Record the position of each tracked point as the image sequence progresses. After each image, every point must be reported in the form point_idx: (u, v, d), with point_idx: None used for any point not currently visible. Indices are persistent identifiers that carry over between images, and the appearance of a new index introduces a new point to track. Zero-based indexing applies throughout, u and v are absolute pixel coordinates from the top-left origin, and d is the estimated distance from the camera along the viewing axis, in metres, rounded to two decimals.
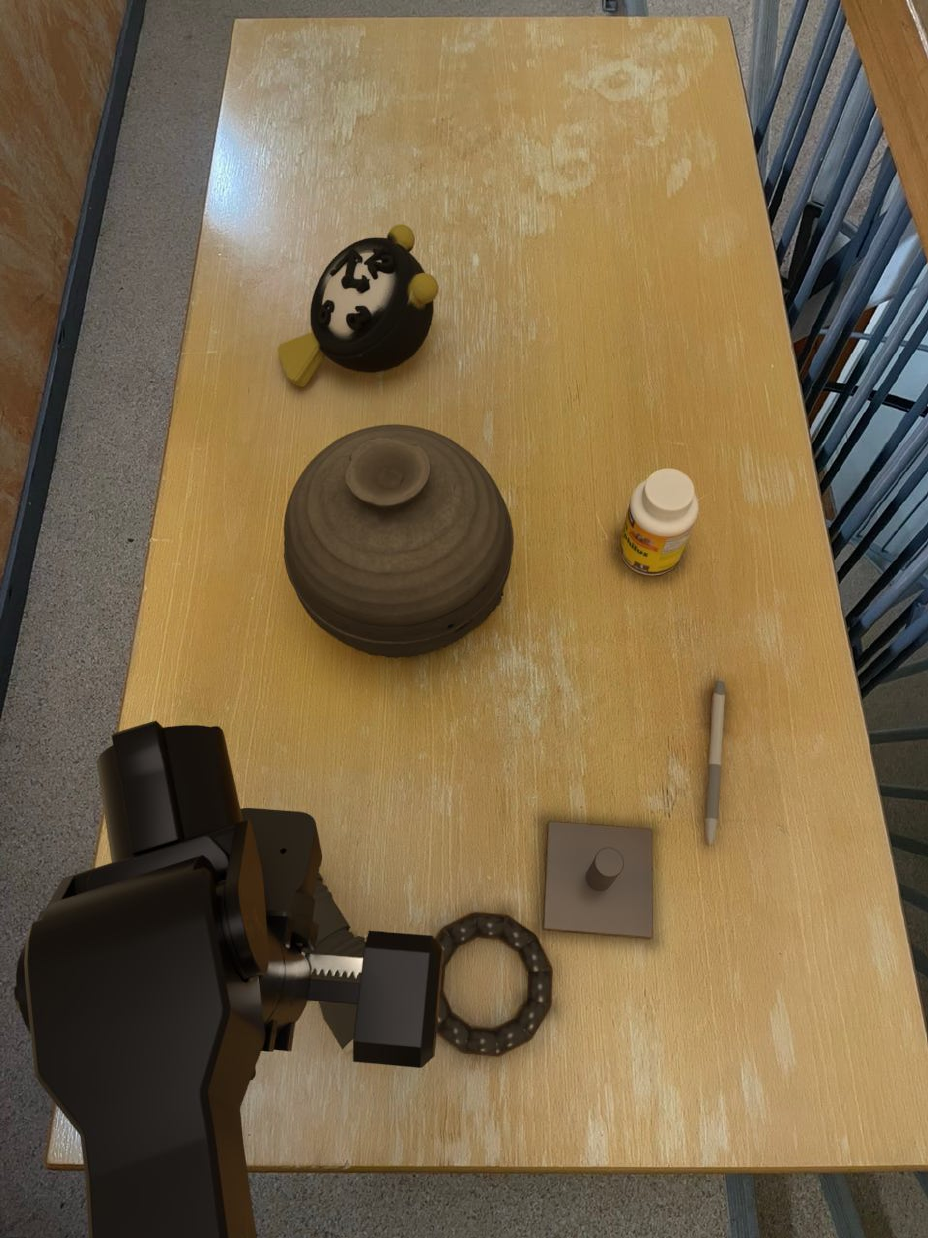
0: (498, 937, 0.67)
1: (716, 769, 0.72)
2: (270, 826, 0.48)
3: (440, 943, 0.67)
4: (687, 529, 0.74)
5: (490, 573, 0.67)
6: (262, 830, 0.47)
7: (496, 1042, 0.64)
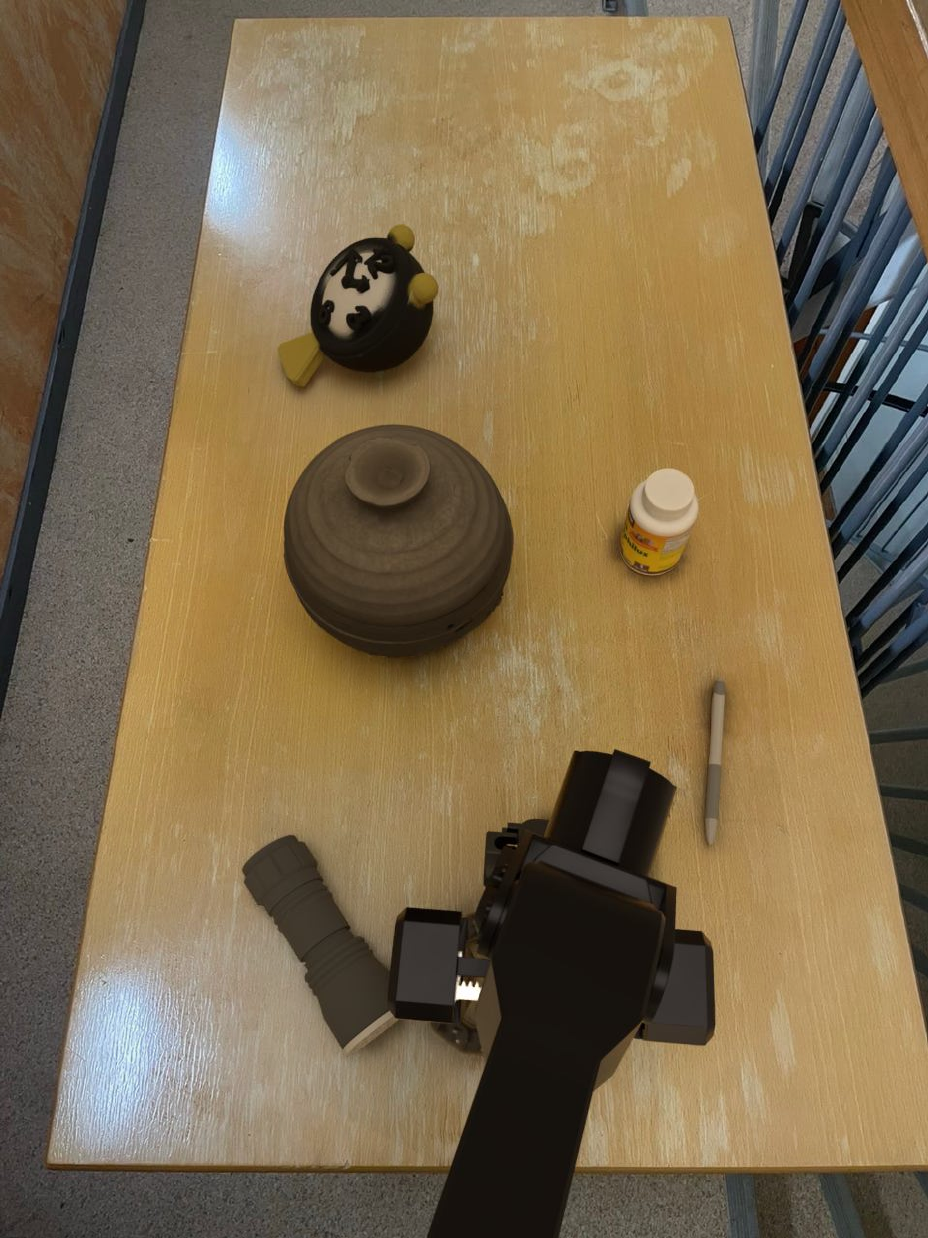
0: None
1: (716, 769, 0.72)
2: None
3: None
4: (687, 529, 0.74)
5: (489, 573, 0.67)
6: None
7: None
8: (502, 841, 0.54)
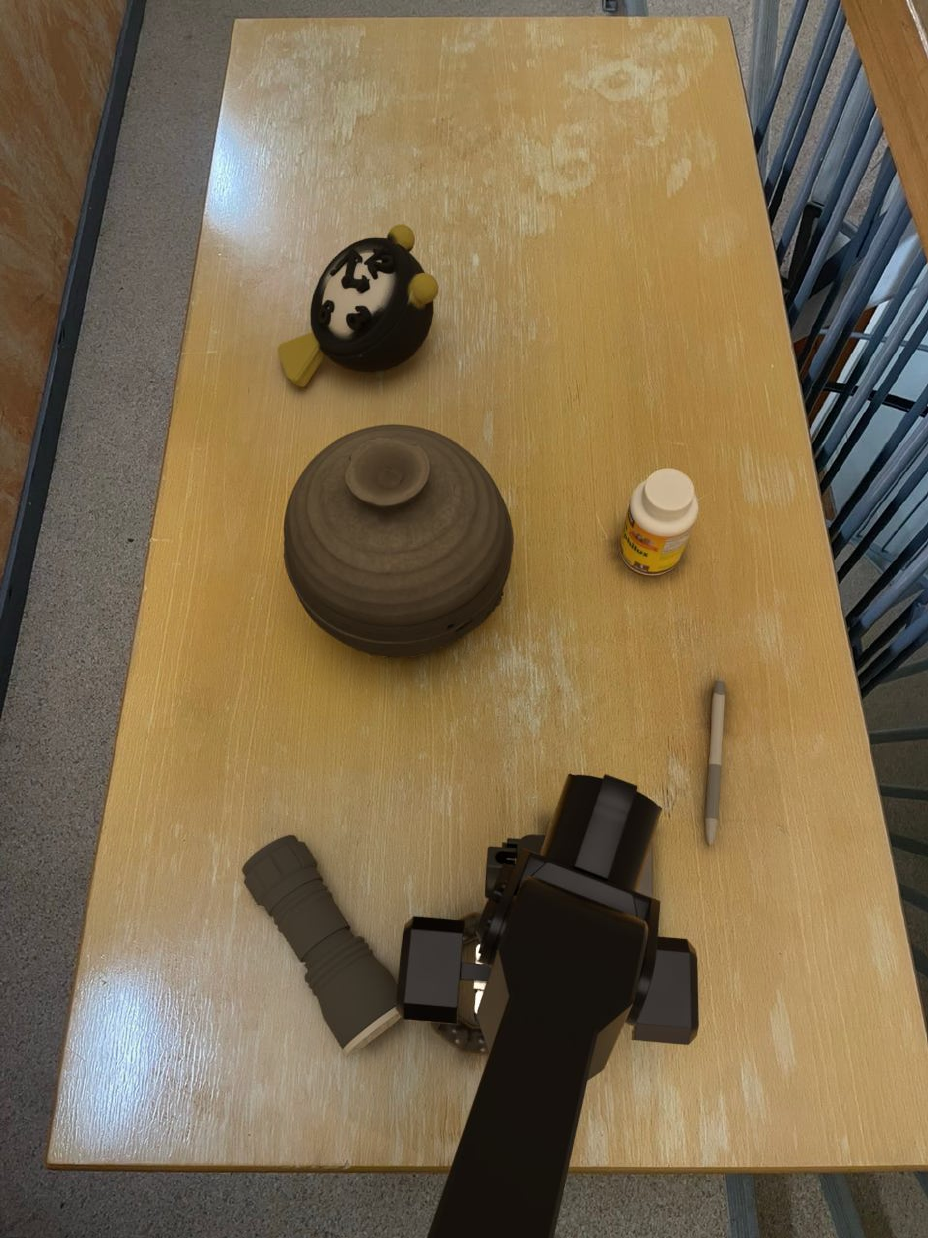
0: None
1: (716, 769, 0.72)
2: None
3: None
4: (687, 529, 0.74)
5: (489, 573, 0.67)
6: None
7: None
8: (502, 855, 0.58)
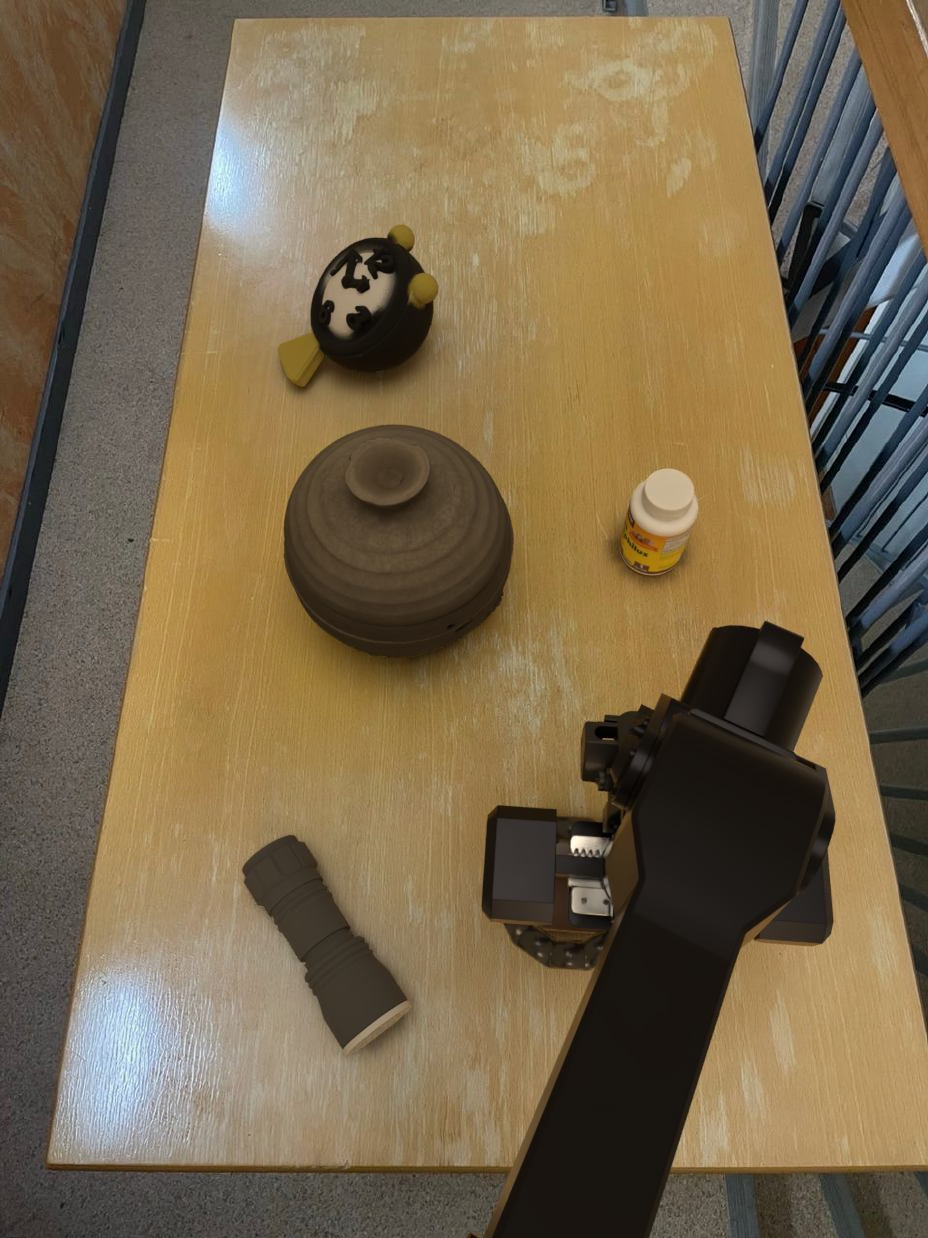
0: None
1: None
2: None
3: None
4: (687, 529, 0.74)
5: (489, 573, 0.67)
6: None
7: (585, 954, 0.57)
8: (602, 731, 0.50)
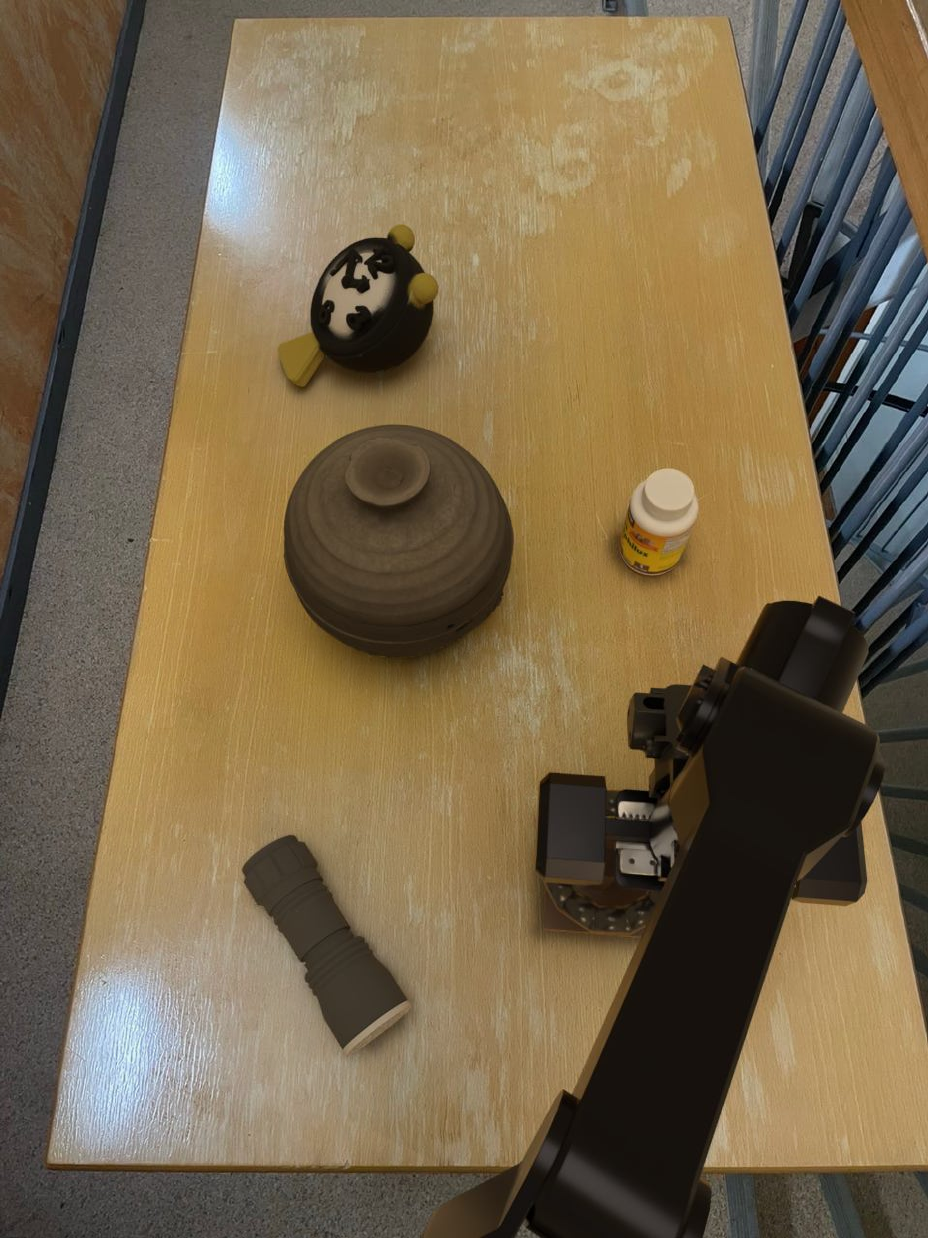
0: None
1: None
2: None
3: None
4: (687, 529, 0.74)
5: (489, 573, 0.67)
6: None
7: (626, 918, 0.60)
8: (649, 702, 0.54)
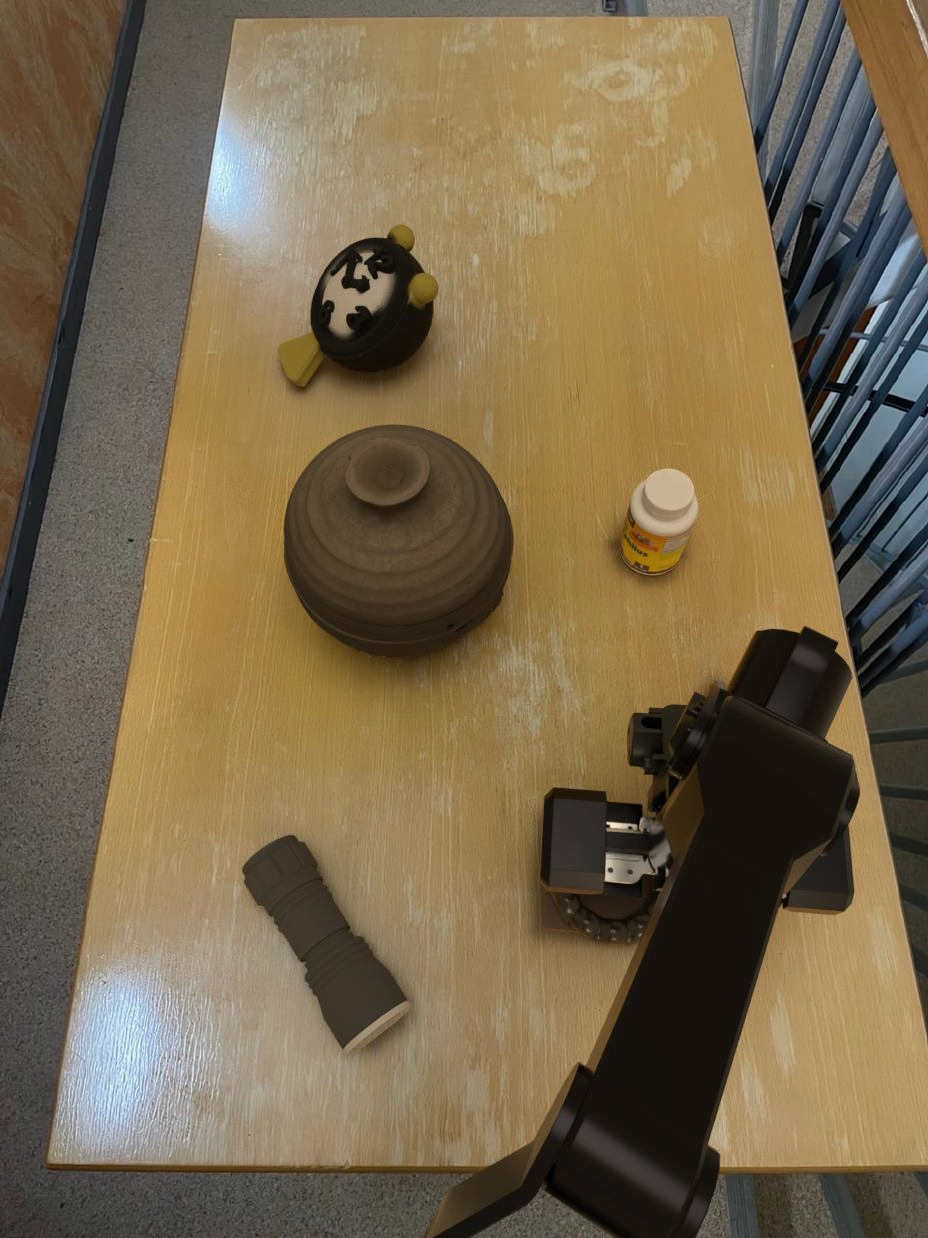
0: None
1: None
2: None
3: None
4: (687, 529, 0.74)
5: (489, 573, 0.67)
6: None
7: (628, 931, 0.66)
8: (647, 722, 0.57)
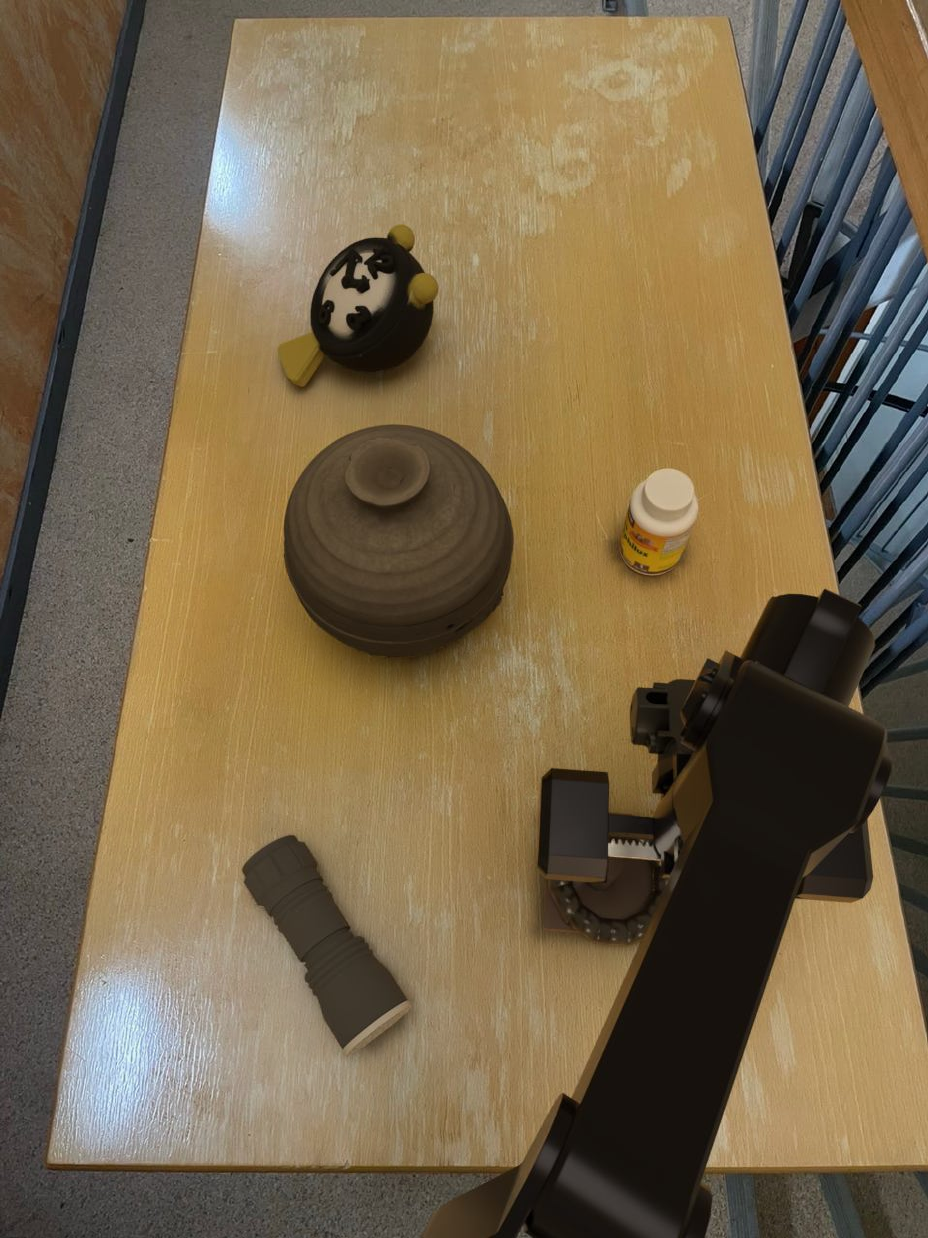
0: None
1: None
2: None
3: None
4: (687, 529, 0.74)
5: (489, 573, 0.67)
6: None
7: (628, 931, 0.66)
8: (652, 697, 0.53)
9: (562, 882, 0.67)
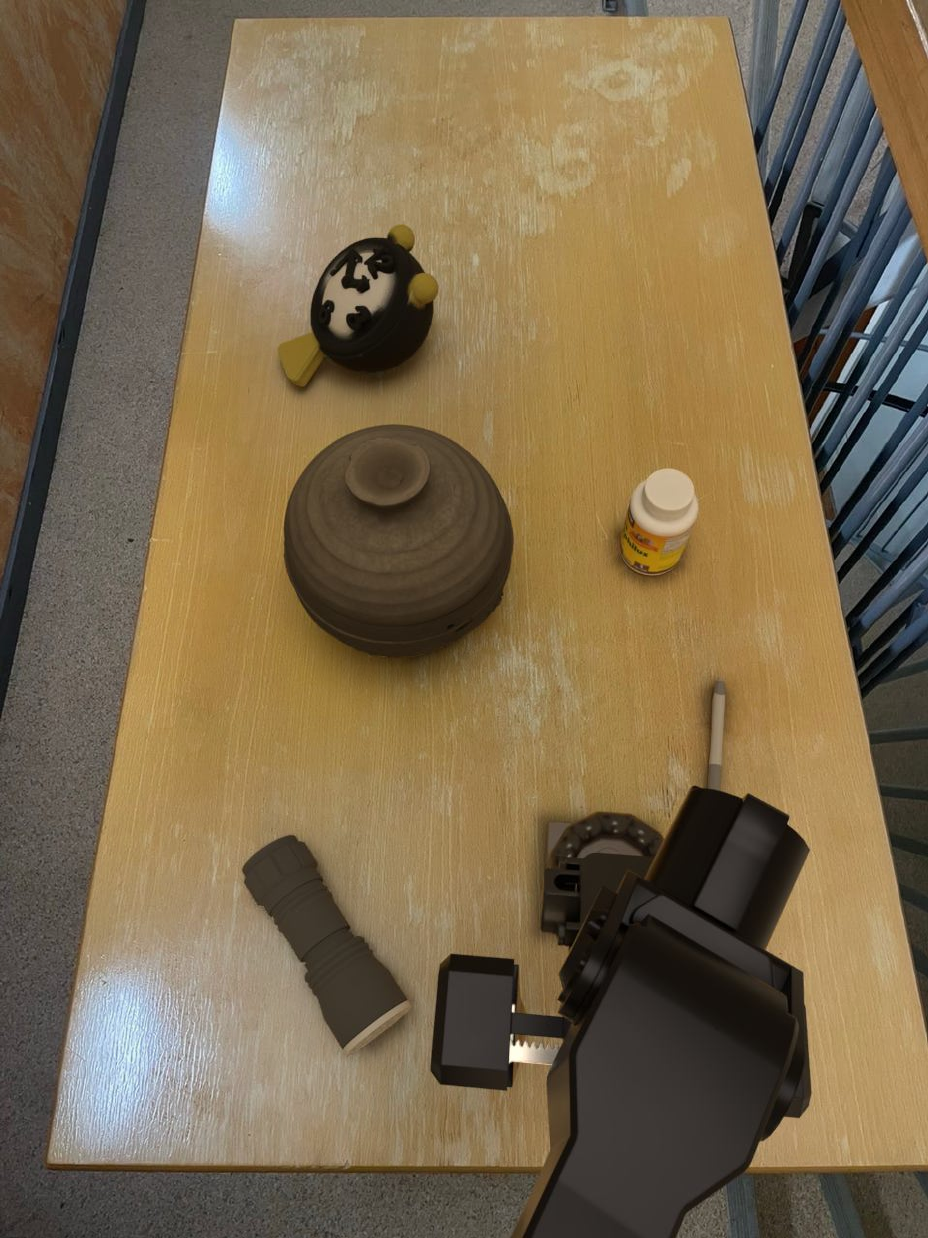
0: (624, 834, 0.69)
1: (716, 769, 0.72)
2: (626, 872, 0.47)
3: (568, 839, 0.69)
4: (687, 529, 0.74)
5: (489, 573, 0.67)
6: (619, 876, 0.47)
7: None
8: (562, 879, 0.47)
9: None
